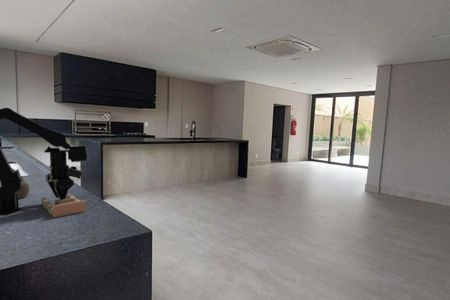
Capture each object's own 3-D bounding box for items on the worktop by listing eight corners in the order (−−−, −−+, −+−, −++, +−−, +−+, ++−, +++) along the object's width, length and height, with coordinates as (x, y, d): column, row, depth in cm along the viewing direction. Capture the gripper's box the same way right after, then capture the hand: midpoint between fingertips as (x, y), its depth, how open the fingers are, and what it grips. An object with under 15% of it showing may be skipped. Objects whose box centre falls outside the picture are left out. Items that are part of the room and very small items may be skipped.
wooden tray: (85, 210, 108) (84, 203, 107) (52, 216, 100) (52, 209, 100) (70, 199, 122) (70, 193, 122) (41, 204, 114) (41, 198, 114)
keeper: (78, 212, 106) (77, 202, 106) (60, 215, 102) (60, 205, 102) (72, 207, 112) (71, 197, 112) (55, 210, 108) (54, 200, 107)
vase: (33, 195, 127) (32, 177, 126) (21, 200, 120) (19, 180, 119) (19, 195, 127) (18, 176, 126) (6, 199, 120) (5, 179, 120)
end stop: (86, 211, 107) (86, 201, 106) (53, 217, 99) (53, 206, 99) (85, 210, 108) (84, 200, 107) (52, 216, 100) (52, 205, 100)
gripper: (87, 163, 111) (88, 201, 113) (73, 158, 124) (74, 192, 126) (55, 166, 103) (57, 206, 105) (44, 160, 117) (46, 196, 118)
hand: (60, 199), depth 114 cm, fingers open, 9 cm apart
